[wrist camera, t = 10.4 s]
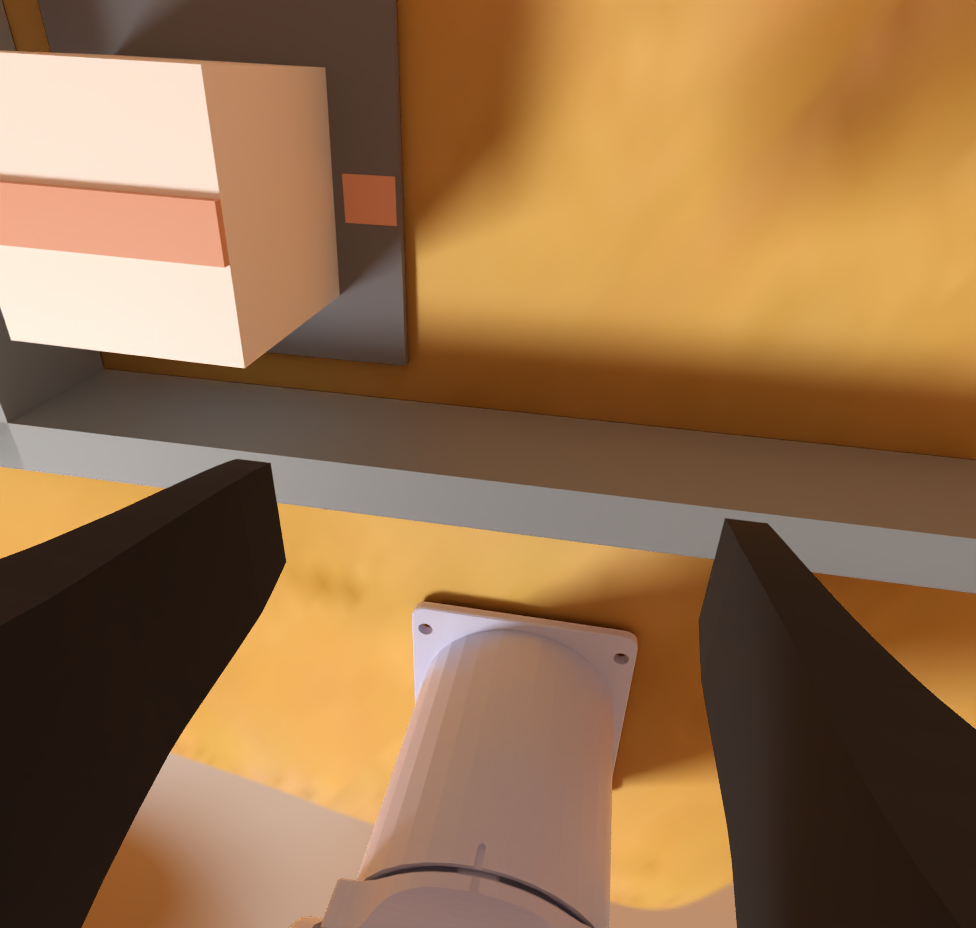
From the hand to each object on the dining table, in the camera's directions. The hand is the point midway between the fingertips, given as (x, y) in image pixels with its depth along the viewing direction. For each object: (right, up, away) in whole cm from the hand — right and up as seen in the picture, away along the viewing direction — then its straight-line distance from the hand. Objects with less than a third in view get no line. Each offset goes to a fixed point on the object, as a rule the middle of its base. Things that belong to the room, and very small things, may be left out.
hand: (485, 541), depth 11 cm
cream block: (-7, +9, +7) cm, 13 cm away
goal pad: (-7, +9, +7) cm, 13 cm away
